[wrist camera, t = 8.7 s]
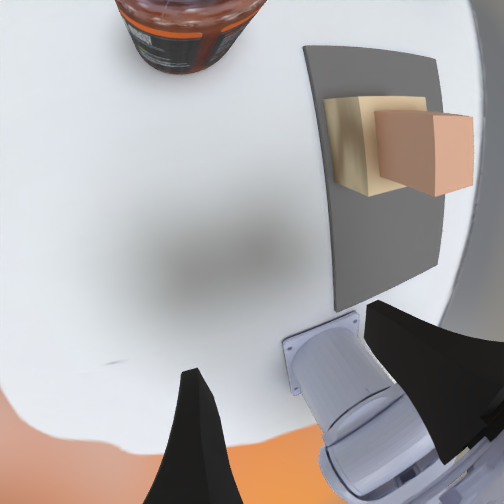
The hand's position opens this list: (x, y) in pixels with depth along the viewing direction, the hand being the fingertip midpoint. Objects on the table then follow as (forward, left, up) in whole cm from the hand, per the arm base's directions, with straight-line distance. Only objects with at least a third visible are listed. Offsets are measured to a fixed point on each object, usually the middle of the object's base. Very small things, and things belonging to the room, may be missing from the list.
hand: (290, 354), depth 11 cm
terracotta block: (+6, -11, -6) cm, 14 cm away
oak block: (+6, -11, -10) cm, 16 cm away
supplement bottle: (+15, 0, -11) cm, 18 cm away
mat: (+2, -15, -10) cm, 18 cm away
